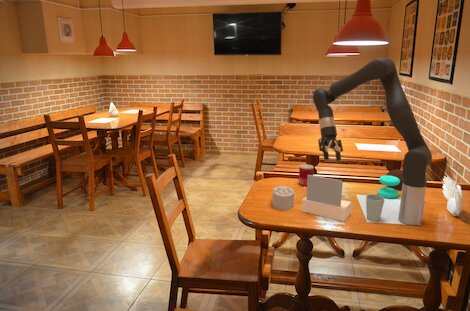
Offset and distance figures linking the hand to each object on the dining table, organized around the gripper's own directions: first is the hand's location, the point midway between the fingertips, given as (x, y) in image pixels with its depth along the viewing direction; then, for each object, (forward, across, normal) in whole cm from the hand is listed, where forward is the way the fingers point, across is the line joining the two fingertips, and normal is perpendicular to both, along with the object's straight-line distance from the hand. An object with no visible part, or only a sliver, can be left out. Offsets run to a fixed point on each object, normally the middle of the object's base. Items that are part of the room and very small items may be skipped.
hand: (332, 160), depth 176 cm
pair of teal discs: (+18, +39, 0) cm, 43 cm away
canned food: (+6, +16, +35) cm, 39 cm away
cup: (+30, +8, -10) cm, 32 cm away
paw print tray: (+18, -15, +23) cm, 33 cm away
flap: (+20, -10, +1) cm, 23 cm away
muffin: (+13, +54, +4) cm, 56 cm away
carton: (+24, -4, +5) cm, 25 cm away
